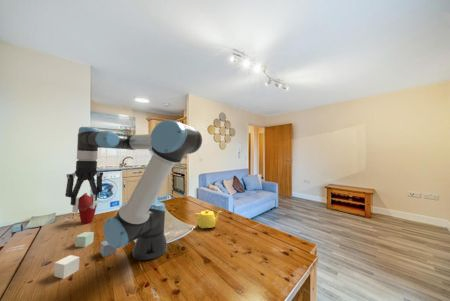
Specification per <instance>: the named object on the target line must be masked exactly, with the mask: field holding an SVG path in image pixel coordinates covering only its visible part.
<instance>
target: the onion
mask: <svg viewBox="0 0 450 301" xmlns="http://www.w3.org/2000/svg"><path fill="white" fill-rule="evenodd" d="M78 198H79V200H78V208H79V209H80V210H83V211H85V210H86V209H87V208H89V207H90V206H91V204H92V202H93V201H92V198H91V197H90V195H88V193H87V192H84V193H83V194H82V195H81V196H80V197H78Z"/></svg>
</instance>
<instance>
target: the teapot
mask: <svg viewBox="0 0 450 301" xmlns="http://www.w3.org/2000/svg"><path fill="white" fill-rule="evenodd" d="M221 212H222V210H220V211H218V212H217V213H216V215H215V214H214V211H213V210H209V209H205V210H201V211H200V212H199V213H198V212H196V213H194V218H195V219H196V221H197V225H198V227H199V228H200V229H201V228H204V229H209V228H212V229H213V228H214V227H215V225H216V223H217V222H218V221H219V218H220V217H219V216H220V213H221ZM198 216H199V217H198Z"/></svg>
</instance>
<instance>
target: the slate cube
mask: <svg viewBox="0 0 450 301" xmlns="http://www.w3.org/2000/svg"><path fill="white" fill-rule="evenodd" d="M99 249H100V250H99V251H100V252H99V253H100V256H102V258H105V257H108V256H111V255H113V254H116V253H117V248H113V247H111V246H110V245H109V244H108V243H107V241H106V240H103V241H101V242H100V248H99Z"/></svg>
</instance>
